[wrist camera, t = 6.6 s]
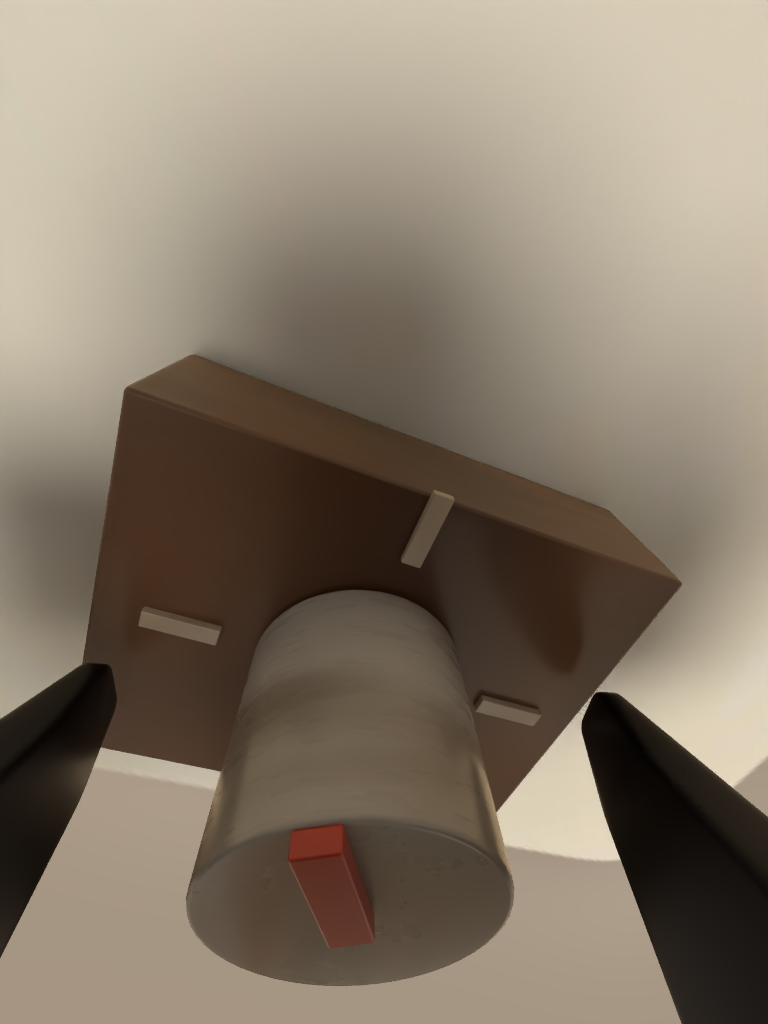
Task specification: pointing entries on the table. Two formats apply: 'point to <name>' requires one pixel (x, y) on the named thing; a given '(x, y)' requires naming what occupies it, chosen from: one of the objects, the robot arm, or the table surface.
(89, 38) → the table surface
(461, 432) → the table surface
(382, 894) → the heat knob
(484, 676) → the panel
